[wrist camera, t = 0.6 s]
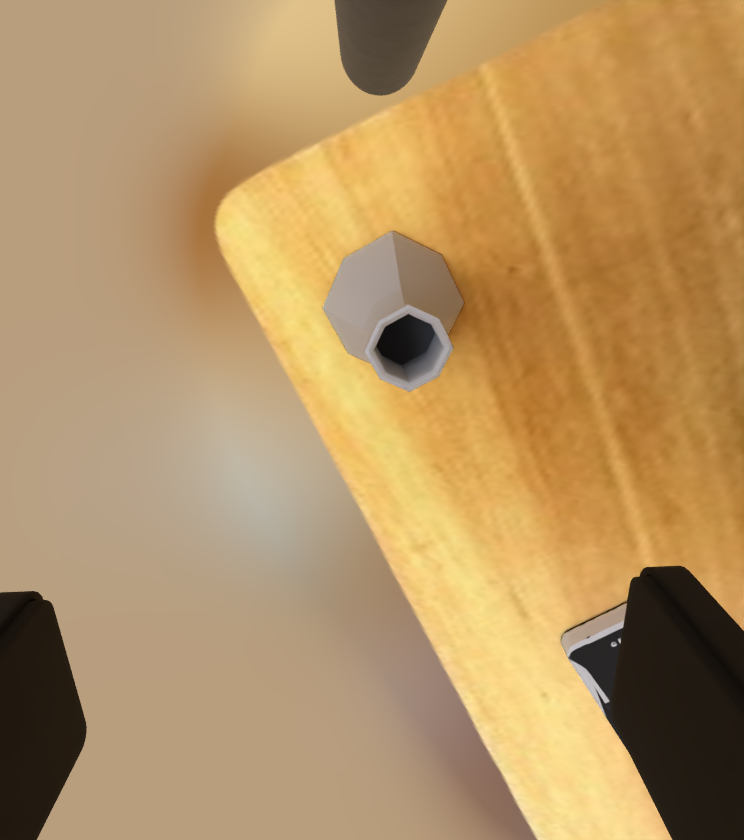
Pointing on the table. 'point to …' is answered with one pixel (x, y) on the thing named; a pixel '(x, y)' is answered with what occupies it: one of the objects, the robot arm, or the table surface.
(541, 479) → the table surface
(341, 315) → the flask
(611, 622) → the smartphone
